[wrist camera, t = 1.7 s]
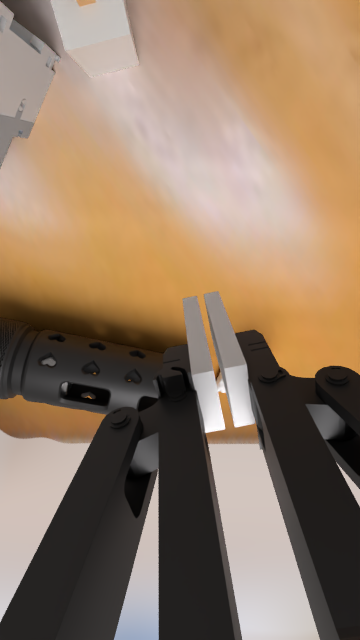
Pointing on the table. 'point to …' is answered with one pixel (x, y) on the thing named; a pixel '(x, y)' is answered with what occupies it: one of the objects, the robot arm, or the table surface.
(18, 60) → the circuit breaker
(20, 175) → the table surface
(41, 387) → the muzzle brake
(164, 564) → the robot arm
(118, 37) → the mounted module
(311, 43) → the table surface
